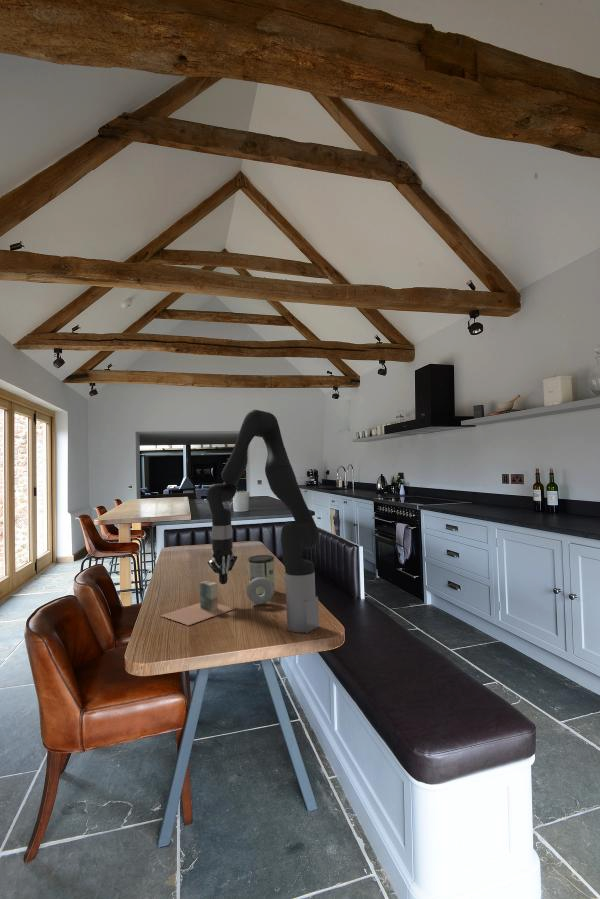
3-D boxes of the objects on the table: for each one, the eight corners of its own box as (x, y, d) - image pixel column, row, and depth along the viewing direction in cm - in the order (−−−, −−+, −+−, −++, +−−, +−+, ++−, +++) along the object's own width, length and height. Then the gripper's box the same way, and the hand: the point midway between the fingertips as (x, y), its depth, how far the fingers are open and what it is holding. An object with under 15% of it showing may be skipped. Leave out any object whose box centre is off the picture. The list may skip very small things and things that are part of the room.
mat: (234, 609, 158) (234, 608, 158) (188, 626, 143) (188, 625, 143) (206, 601, 168) (206, 600, 168) (160, 616, 153) (160, 615, 153)
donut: (247, 607, 160) (246, 579, 161) (246, 604, 164) (246, 577, 164) (274, 604, 162) (273, 577, 162) (273, 602, 165) (272, 575, 165)
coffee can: (252, 589, 183) (251, 554, 184) (277, 589, 182) (276, 554, 182) (246, 596, 173) (245, 560, 174) (272, 596, 172) (271, 560, 172)
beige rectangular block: (217, 608, 159) (217, 583, 159) (210, 610, 156) (209, 585, 156) (207, 605, 163) (206, 580, 163) (199, 607, 160) (199, 582, 160)
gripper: (214, 540, 158) (216, 589, 158) (242, 535, 168) (243, 581, 168) (201, 538, 163) (202, 586, 162) (228, 533, 173) (230, 578, 173)
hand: (223, 583), depth 165 cm, fingers closed
